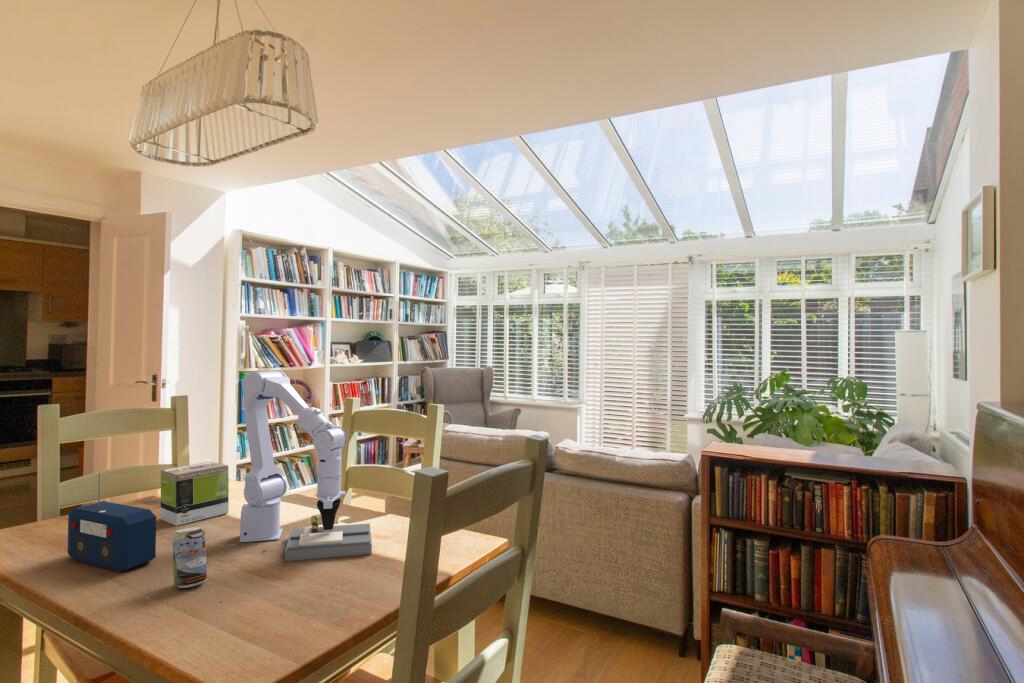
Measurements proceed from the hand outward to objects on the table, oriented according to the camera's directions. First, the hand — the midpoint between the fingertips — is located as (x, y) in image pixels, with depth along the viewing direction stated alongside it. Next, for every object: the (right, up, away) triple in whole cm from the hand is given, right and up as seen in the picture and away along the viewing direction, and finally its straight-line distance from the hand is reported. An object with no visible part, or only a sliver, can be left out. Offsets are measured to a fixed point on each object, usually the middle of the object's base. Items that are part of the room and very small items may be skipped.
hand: (328, 529), depth 142 cm
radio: (-47, -4, -11) cm, 49 cm away
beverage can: (-22, -4, -23) cm, 32 cm away
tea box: (-46, -4, +22) cm, 52 cm away
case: (0, -5, +1) cm, 5 cm away
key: (-3, -2, +5) cm, 6 cm away
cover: (-1, -2, -3) cm, 4 cm away
